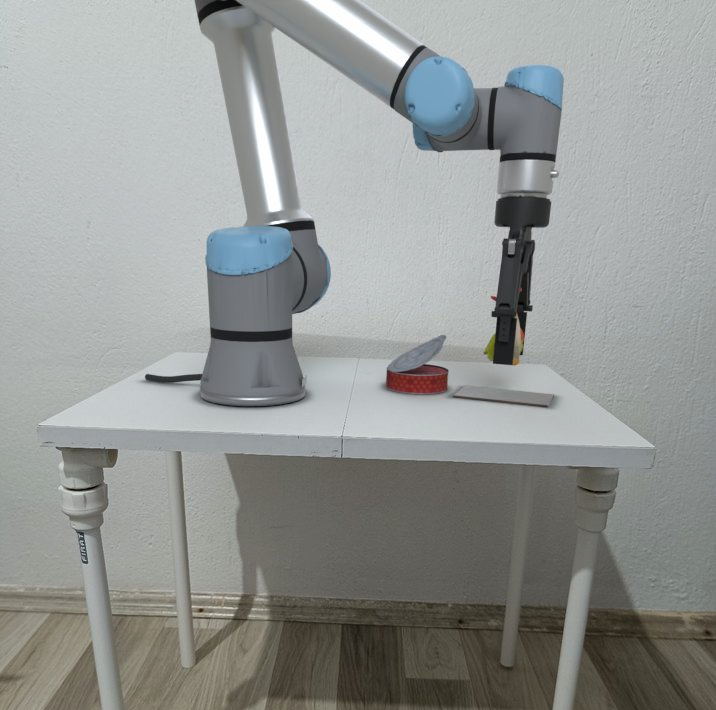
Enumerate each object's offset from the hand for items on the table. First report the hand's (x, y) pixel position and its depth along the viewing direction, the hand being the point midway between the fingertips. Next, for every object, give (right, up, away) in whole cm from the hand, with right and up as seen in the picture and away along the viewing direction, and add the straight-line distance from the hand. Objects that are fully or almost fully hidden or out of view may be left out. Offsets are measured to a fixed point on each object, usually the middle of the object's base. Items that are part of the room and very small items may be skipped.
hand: (508, 359), depth 99 cm
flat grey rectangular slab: (0, -5, +2) cm, 6 cm away
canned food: (-13, -4, +7) cm, 15 cm away
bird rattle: (0, -1, 0) cm, 1 cm away
